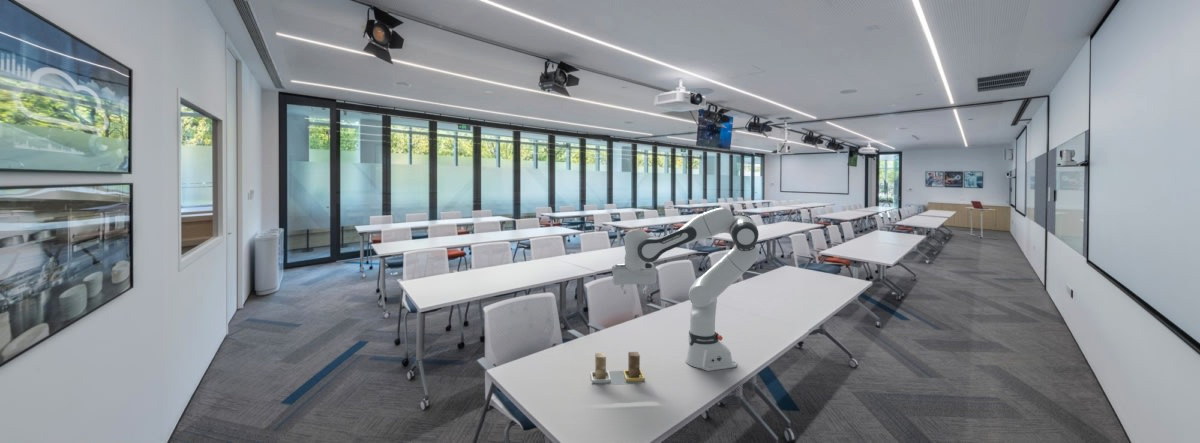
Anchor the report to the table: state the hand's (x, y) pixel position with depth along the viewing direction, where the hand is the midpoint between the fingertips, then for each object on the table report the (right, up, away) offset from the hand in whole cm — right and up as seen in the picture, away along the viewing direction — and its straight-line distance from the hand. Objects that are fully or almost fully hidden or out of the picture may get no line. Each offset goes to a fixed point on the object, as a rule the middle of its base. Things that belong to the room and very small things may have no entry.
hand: (634, 293), depth 200 cm
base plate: (-9, -33, -19) cm, 39 cm away
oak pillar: (-16, -32, -20) cm, 41 cm away
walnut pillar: (-2, -32, -19) cm, 37 cm away
